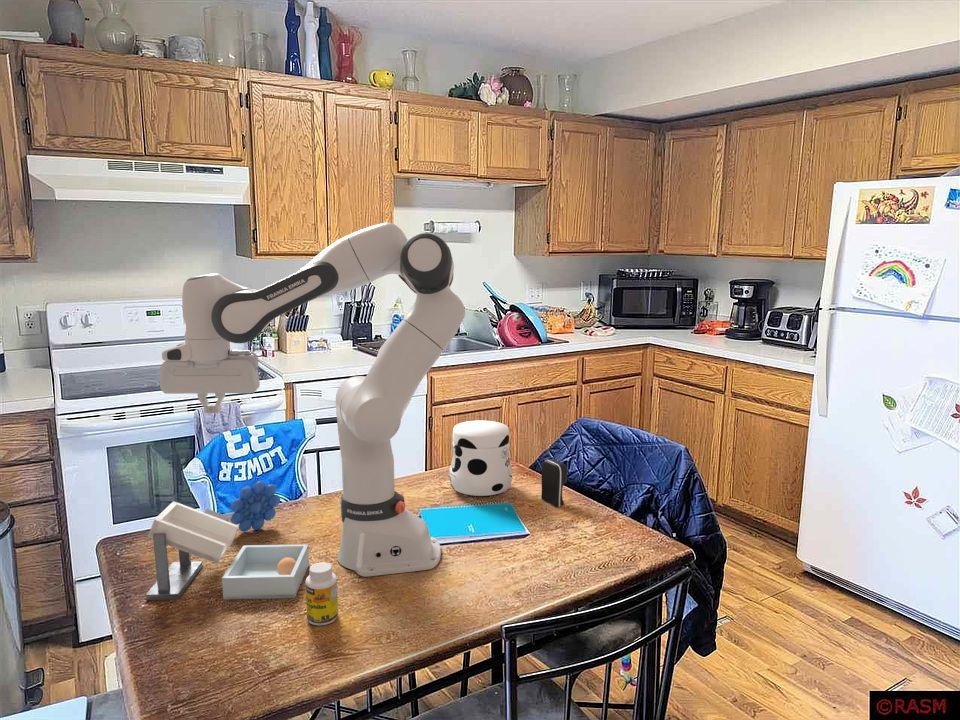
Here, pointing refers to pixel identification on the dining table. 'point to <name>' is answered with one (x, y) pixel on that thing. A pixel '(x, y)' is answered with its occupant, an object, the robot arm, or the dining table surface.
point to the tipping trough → (195, 531)
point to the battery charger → (553, 481)
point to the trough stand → (171, 572)
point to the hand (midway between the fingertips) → (212, 412)
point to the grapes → (254, 506)
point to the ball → (286, 566)
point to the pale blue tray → (265, 572)
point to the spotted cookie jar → (480, 459)
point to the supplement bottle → (321, 594)
